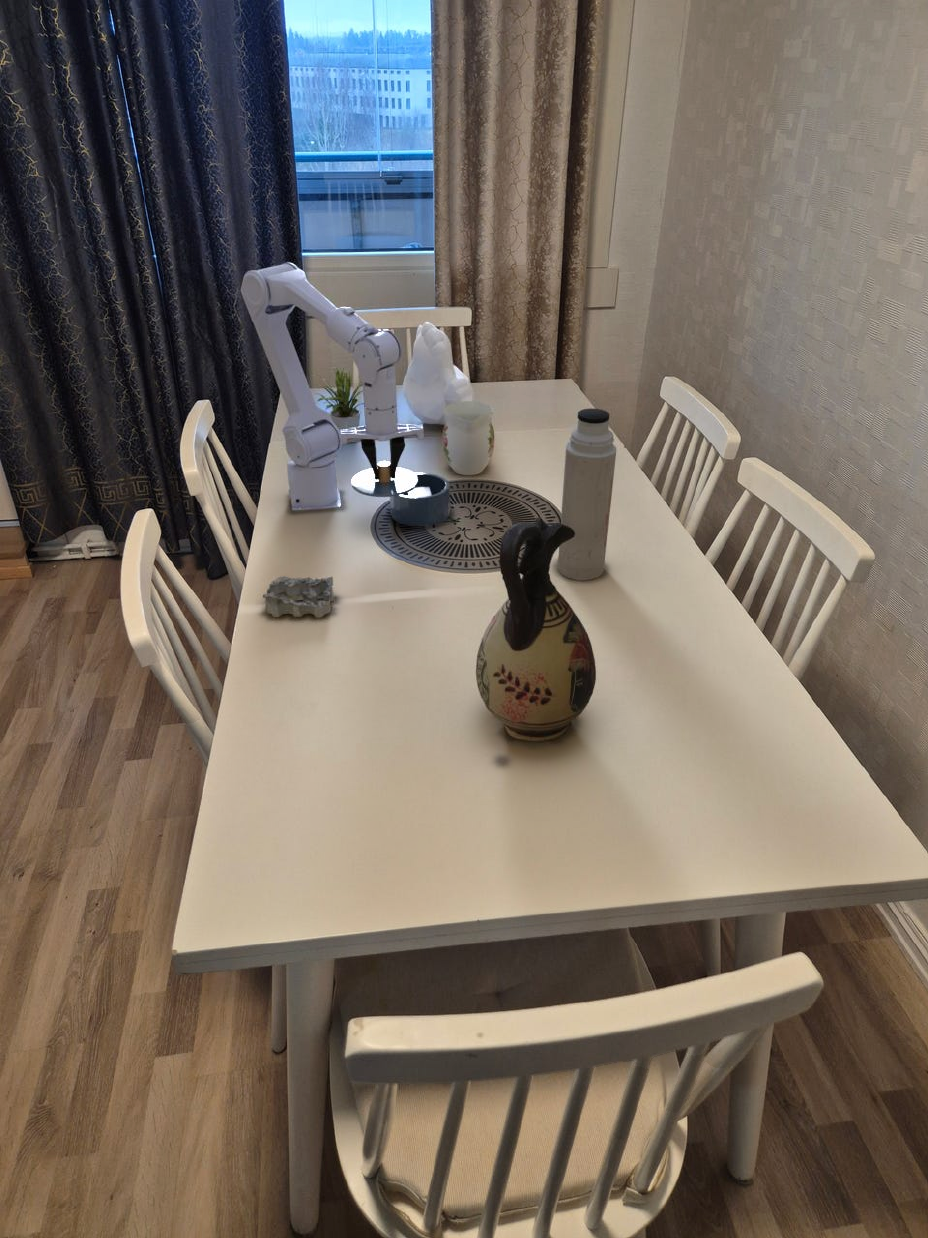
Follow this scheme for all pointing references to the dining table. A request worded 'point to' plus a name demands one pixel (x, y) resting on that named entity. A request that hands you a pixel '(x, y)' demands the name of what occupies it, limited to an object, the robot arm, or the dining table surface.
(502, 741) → the dining table surface
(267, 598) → the egg carton
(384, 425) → the robot arm
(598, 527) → the thermos bottle
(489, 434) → the pitcher
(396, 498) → the canister
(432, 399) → the decorative rooster
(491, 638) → the ceramic jug
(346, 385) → the house plant
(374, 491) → the lid
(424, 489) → the block
